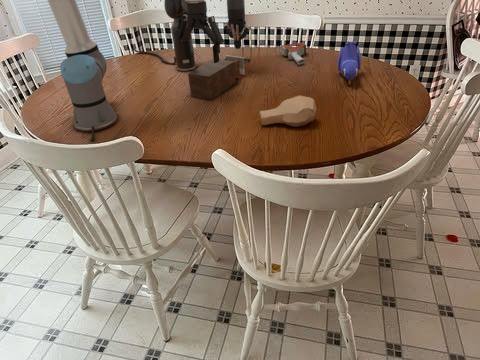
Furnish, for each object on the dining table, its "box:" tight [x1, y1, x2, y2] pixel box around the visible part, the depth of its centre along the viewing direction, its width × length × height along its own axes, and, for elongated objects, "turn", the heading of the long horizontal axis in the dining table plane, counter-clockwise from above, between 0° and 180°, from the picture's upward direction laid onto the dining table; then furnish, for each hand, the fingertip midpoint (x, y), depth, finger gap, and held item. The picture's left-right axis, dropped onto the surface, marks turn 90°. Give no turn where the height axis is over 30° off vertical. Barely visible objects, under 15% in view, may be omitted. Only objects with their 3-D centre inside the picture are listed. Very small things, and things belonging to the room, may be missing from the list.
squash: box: [258, 94, 318, 128], centre depth 122 cm, size 11×20×9 cm, turn 92°
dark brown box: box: [187, 58, 237, 101], centre depth 151 cm, size 20×10×10 cm, turn 150°
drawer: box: [222, 54, 251, 78], centre depth 159 cm, size 25×9×8 cm, turn 150°
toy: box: [336, 40, 362, 86], centre depth 151 cm, size 10×17×25 cm
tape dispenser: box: [279, 42, 307, 66], centre depth 180 cm, size 18×5×20 cm
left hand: (202, 60), depth 141 cm, fingers open, 13 cm apart
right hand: (238, 48), depth 162 cm, fingers closed
